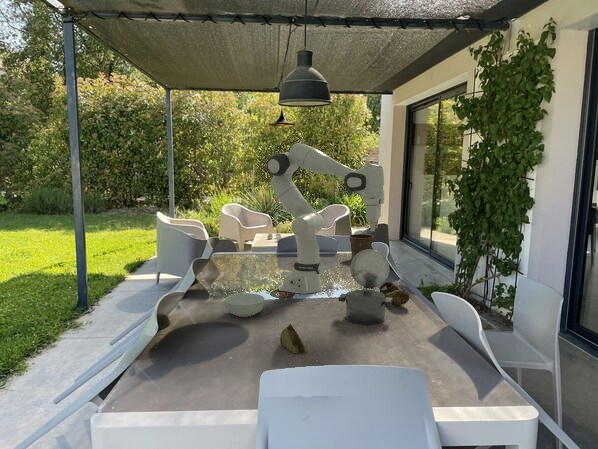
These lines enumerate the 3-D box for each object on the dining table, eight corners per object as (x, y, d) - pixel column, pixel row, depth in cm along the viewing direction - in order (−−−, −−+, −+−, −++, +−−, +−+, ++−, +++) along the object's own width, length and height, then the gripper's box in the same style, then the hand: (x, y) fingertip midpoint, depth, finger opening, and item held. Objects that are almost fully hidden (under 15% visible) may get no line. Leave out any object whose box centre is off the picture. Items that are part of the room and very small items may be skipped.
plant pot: (374, 262, 292) (375, 237, 290) (350, 262, 292) (350, 237, 290) (371, 257, 308) (371, 234, 306) (347, 257, 309) (348, 234, 307)
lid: (351, 248, 195) (352, 248, 198) (349, 287, 194) (350, 286, 197) (389, 250, 189) (390, 250, 193) (388, 290, 189) (388, 289, 192)
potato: (400, 300, 209) (400, 284, 208) (411, 309, 196) (412, 291, 195) (383, 301, 207) (383, 285, 206) (393, 310, 195) (394, 292, 194)
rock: (272, 337, 159) (274, 344, 149) (286, 317, 160) (289, 323, 150) (296, 354, 160) (300, 362, 150) (310, 334, 161) (315, 341, 151)
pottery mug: (403, 300, 211) (396, 286, 208) (385, 308, 213) (378, 294, 211) (400, 287, 222) (393, 274, 219) (382, 294, 224) (375, 281, 222)
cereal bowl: (232, 323, 180) (231, 306, 179) (219, 311, 194) (219, 296, 194) (270, 316, 188) (270, 300, 187) (256, 306, 202) (255, 290, 201)
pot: (335, 321, 181) (335, 298, 180) (344, 308, 197) (344, 287, 196) (388, 327, 174) (389, 303, 173) (393, 313, 191) (393, 291, 190)
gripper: (370, 198, 213) (370, 226, 215) (363, 201, 194) (363, 232, 196) (383, 198, 211) (383, 227, 213) (378, 201, 192) (378, 233, 194)
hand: (374, 229), depth 204 cm, fingers open, 8 cm apart
